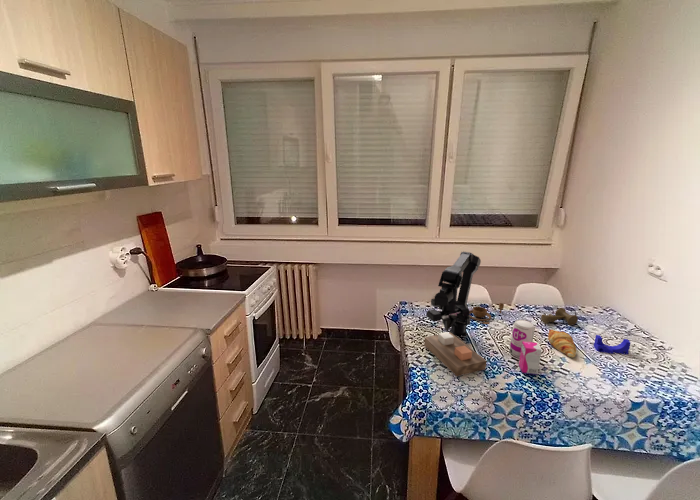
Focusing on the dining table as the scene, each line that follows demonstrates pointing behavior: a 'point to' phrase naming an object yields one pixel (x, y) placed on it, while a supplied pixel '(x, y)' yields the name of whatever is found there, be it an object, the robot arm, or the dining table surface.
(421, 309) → the dining table surface
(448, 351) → the button panel
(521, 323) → the supplement can
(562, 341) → the croissant
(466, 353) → the terracotta plunger
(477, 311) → the place setting
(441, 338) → the white square block
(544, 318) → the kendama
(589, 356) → the dining table surface
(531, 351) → the supplement box
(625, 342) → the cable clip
